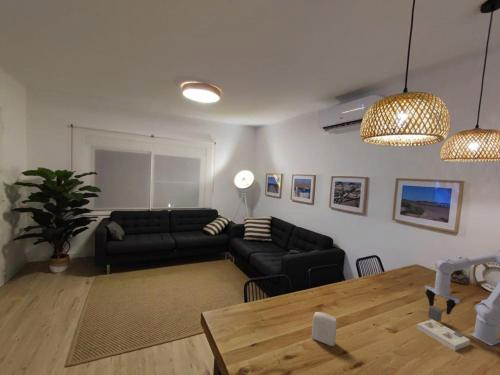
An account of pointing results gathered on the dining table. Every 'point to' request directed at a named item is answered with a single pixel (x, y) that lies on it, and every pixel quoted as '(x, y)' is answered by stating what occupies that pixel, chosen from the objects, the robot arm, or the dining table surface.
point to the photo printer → (324, 328)
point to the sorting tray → (443, 334)
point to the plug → (435, 314)
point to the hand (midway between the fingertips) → (439, 309)
